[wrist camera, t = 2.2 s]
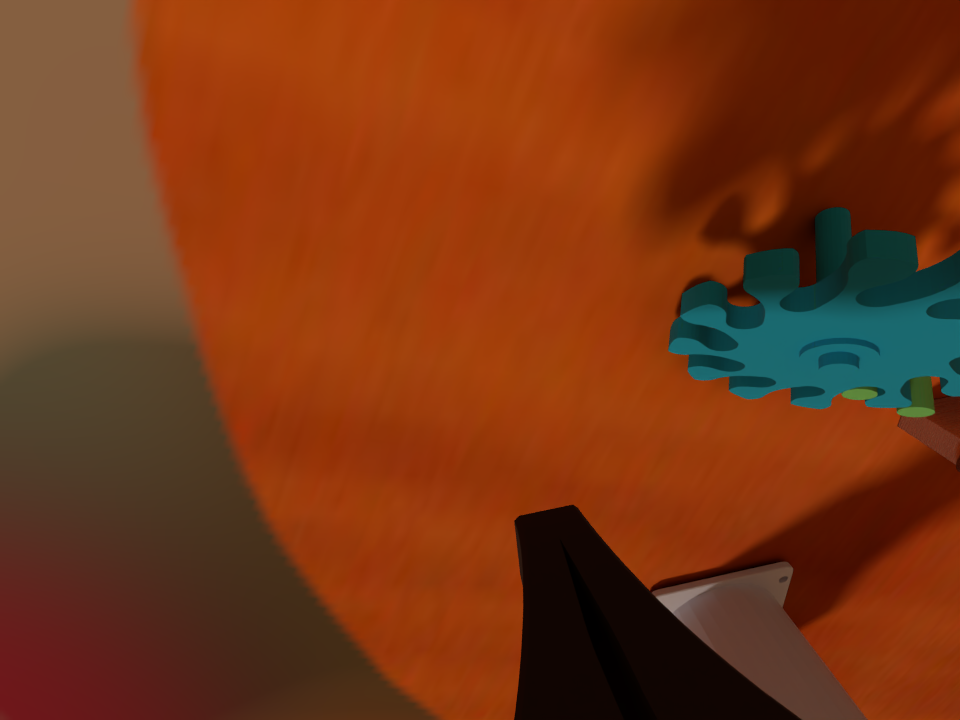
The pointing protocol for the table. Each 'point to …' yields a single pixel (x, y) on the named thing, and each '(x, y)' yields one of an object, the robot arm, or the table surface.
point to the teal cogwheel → (832, 323)
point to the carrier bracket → (938, 428)
